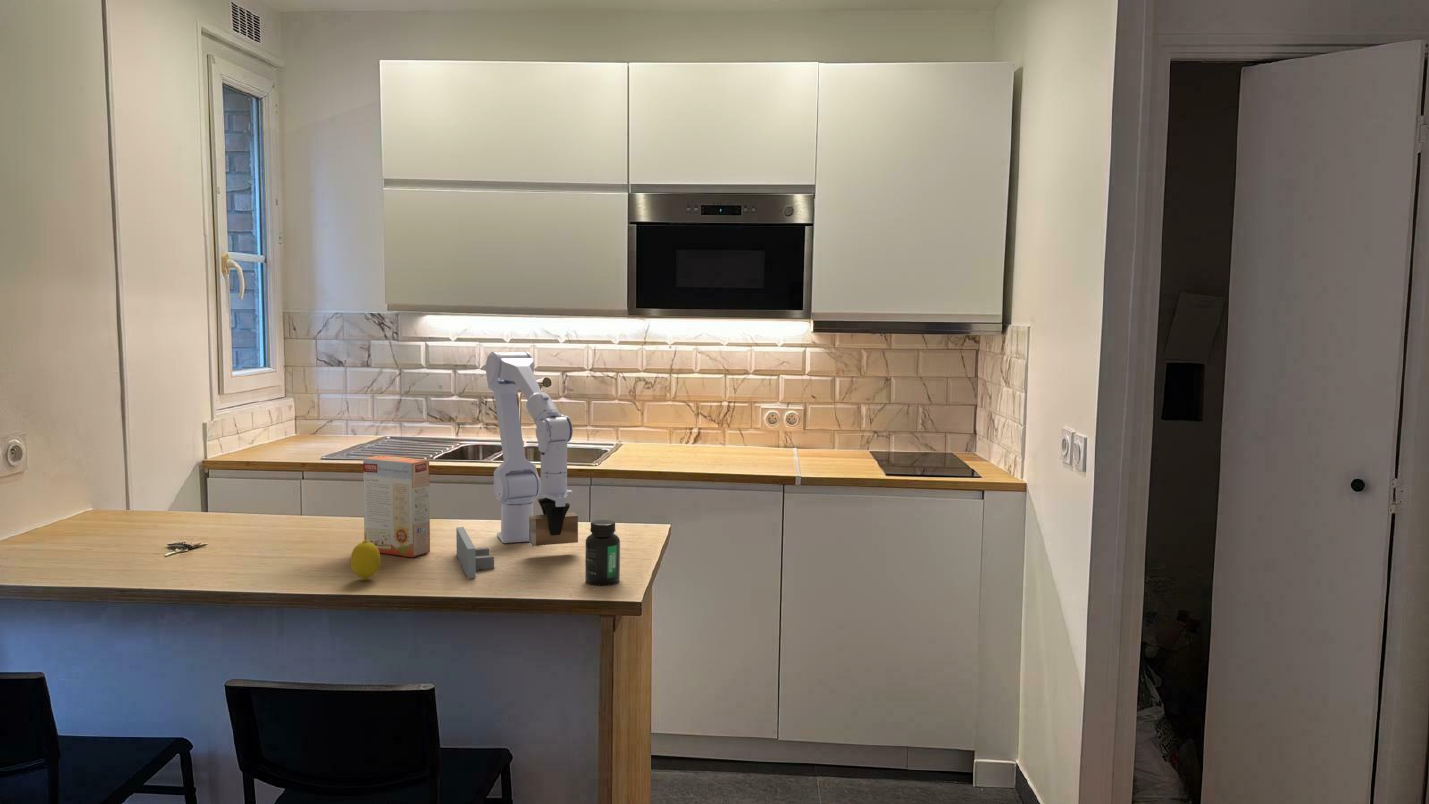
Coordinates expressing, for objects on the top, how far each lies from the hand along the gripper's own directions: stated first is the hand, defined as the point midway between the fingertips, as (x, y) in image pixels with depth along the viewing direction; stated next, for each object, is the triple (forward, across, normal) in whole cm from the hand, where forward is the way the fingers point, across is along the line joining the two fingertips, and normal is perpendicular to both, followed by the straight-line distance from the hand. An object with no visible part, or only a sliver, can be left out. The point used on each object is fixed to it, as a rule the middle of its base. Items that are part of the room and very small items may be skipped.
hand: (553, 532), depth 206 cm
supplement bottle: (+5, -23, -5) cm, 24 cm away
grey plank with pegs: (+5, -3, +16) cm, 17 cm away
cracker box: (+5, +13, +32) cm, 35 cm away
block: (+2, 0, 0) cm, 2 cm away
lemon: (+5, -8, +39) cm, 40 cm away
